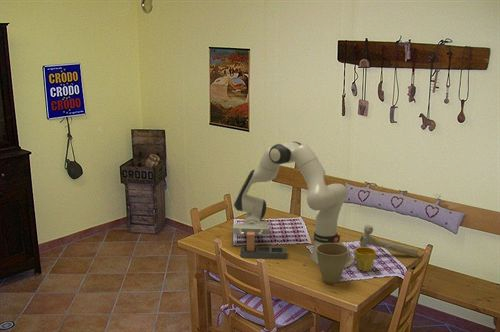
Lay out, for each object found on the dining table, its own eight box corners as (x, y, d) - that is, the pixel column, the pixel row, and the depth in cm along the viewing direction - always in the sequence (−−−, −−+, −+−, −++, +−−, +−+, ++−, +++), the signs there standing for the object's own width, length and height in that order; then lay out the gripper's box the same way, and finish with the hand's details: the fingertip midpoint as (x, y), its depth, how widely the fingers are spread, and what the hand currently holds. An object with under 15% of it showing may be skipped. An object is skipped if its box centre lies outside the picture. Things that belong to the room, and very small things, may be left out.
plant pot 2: (361, 262, 279) (362, 244, 276) (378, 269, 272) (380, 251, 269) (349, 268, 272) (350, 250, 269) (366, 275, 265) (368, 256, 262)
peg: (254, 253, 289) (254, 232, 286) (254, 256, 285) (254, 234, 282) (246, 253, 289) (247, 231, 286) (246, 256, 285) (246, 234, 282)
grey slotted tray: (286, 252, 290) (286, 247, 289) (286, 258, 282) (286, 253, 282) (241, 251, 291) (241, 246, 290) (240, 257, 283) (240, 252, 282)
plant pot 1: (329, 270, 270) (331, 240, 266) (353, 281, 259) (355, 249, 255) (308, 278, 261) (309, 247, 257) (331, 290, 249) (333, 258, 245)
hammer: (419, 237, 287) (364, 223, 287) (422, 241, 283) (366, 227, 282) (410, 264, 291) (356, 250, 291) (412, 268, 287) (357, 254, 287)
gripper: (233, 219, 303) (231, 228, 290) (269, 220, 302) (269, 229, 289) (233, 229, 304) (231, 239, 291) (269, 231, 304) (269, 240, 290)
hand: (250, 234), depth 290 cm, fingers open, 8 cm apart
